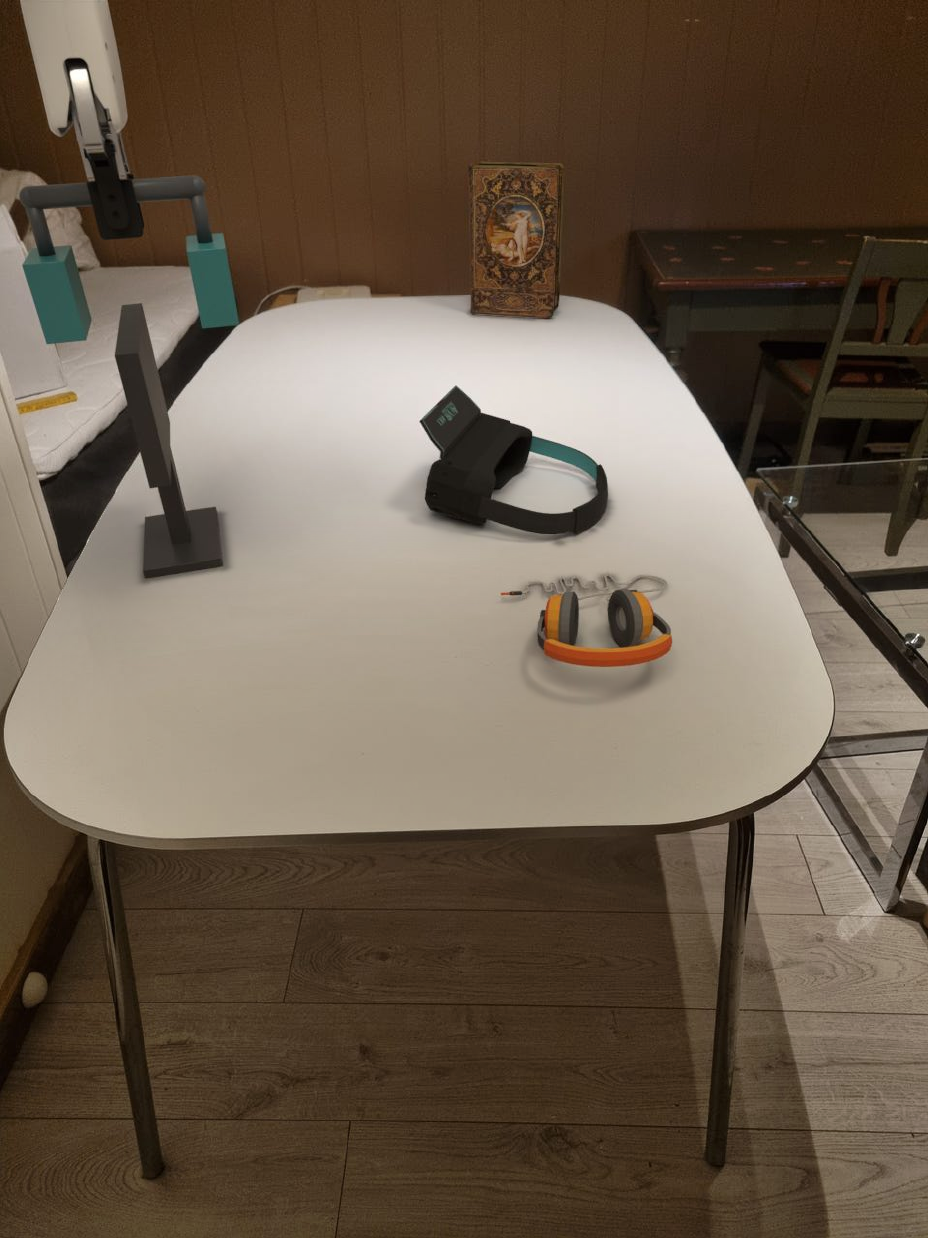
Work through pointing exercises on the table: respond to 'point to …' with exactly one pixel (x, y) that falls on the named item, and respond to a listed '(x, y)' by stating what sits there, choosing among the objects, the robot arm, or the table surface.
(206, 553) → the monitor
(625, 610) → the headphones
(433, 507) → the virtual reality headset
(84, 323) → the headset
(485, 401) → the table surface
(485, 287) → the book
